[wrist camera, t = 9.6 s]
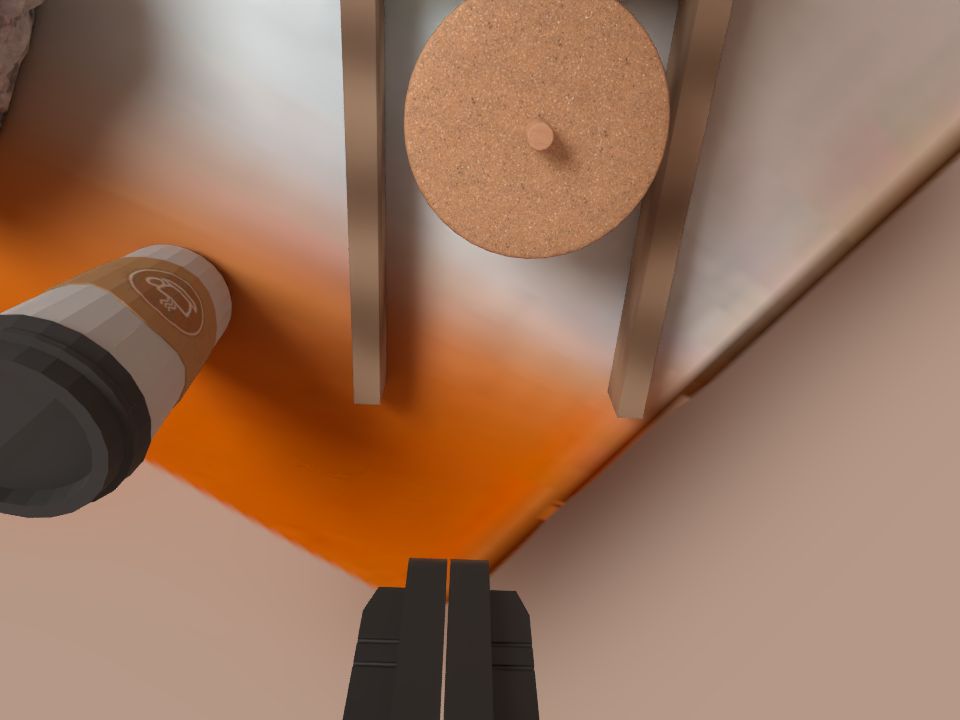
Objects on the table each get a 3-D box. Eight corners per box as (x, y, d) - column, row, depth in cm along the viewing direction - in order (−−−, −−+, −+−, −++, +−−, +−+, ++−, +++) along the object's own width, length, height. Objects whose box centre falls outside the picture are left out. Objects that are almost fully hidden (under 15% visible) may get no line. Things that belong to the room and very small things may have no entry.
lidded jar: (594, 233, 35) (632, 294, 26) (404, 194, 34) (381, 245, 25) (657, 18, 30) (728, 10, 21) (438, -34, 29) (423, -65, 20)
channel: (349, -116, 27) (330, -139, 24) (728, -86, 28) (764, -104, 24) (362, 378, 39) (351, 412, 35) (631, 393, 39) (646, 427, 36)
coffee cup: (282, 305, 36) (170, 457, 23) (189, 381, 39) (39, 559, 25) (169, 192, 33) (-35, 292, 20) (76, 283, 36) (-163, 426, 22)
